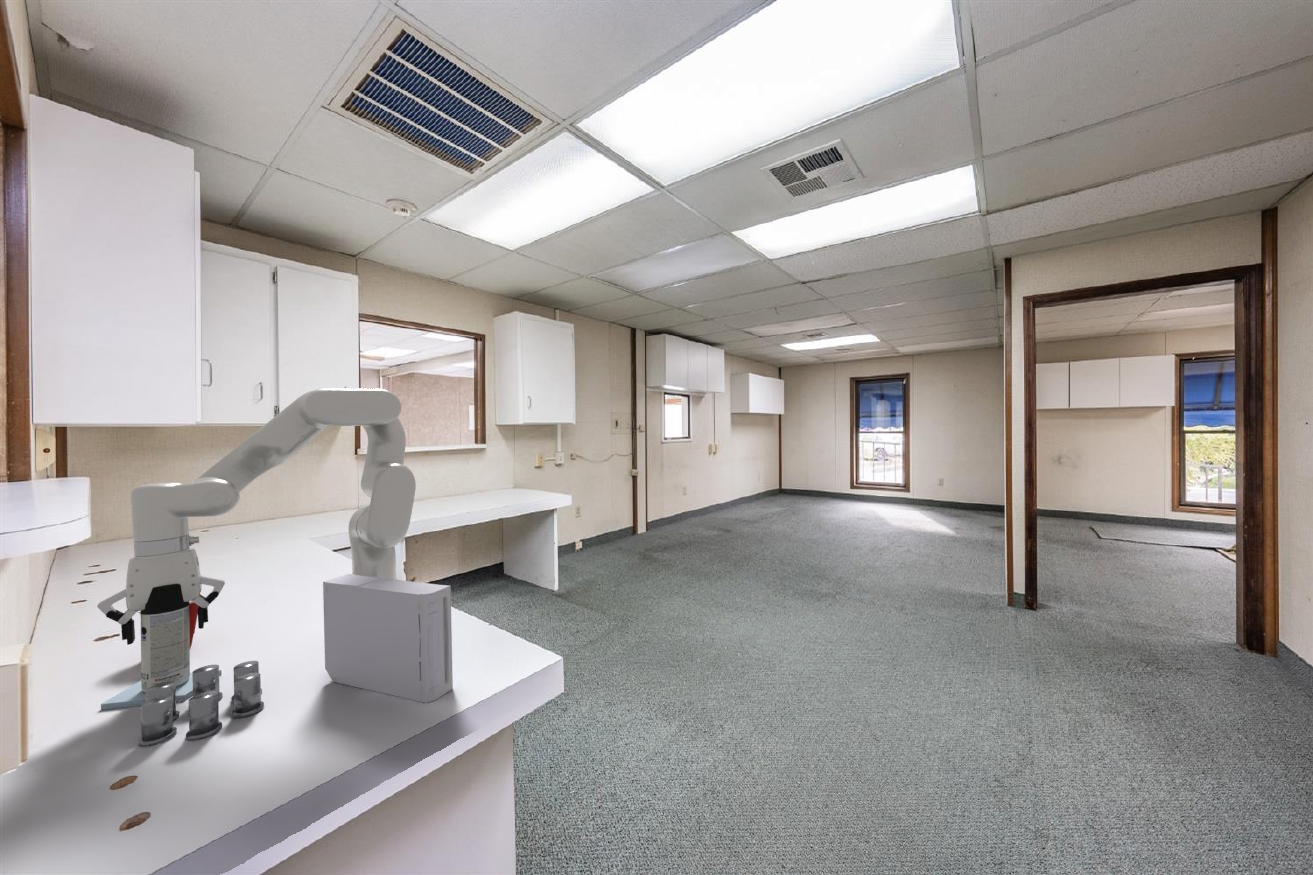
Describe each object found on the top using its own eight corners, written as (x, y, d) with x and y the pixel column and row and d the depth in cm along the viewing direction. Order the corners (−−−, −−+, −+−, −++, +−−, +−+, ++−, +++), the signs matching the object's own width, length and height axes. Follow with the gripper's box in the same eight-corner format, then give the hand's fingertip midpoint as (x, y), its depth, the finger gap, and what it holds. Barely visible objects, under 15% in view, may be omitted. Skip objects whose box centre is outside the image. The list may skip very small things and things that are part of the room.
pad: (221, 674, 100) (221, 669, 100) (185, 700, 90) (185, 694, 90) (146, 682, 97) (146, 677, 97) (100, 709, 88) (100, 704, 88)
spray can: (164, 677, 97) (161, 578, 97) (200, 675, 98) (198, 577, 98) (130, 695, 90) (128, 588, 90) (170, 693, 91) (167, 587, 91)
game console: (429, 705, 87) (427, 595, 87) (323, 681, 97) (321, 581, 96) (453, 689, 93) (451, 585, 92) (351, 667, 102) (349, 573, 102)
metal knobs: (286, 687, 94) (285, 656, 94) (233, 735, 79) (232, 699, 79) (181, 698, 91) (180, 667, 91) (105, 752, 76) (104, 713, 75)
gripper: (222, 536, 102) (226, 616, 103) (98, 552, 91) (104, 642, 91) (222, 541, 97) (226, 626, 97) (90, 559, 85) (96, 655, 86)
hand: (167, 634), depth 94 cm, fingers open, 9 cm apart
